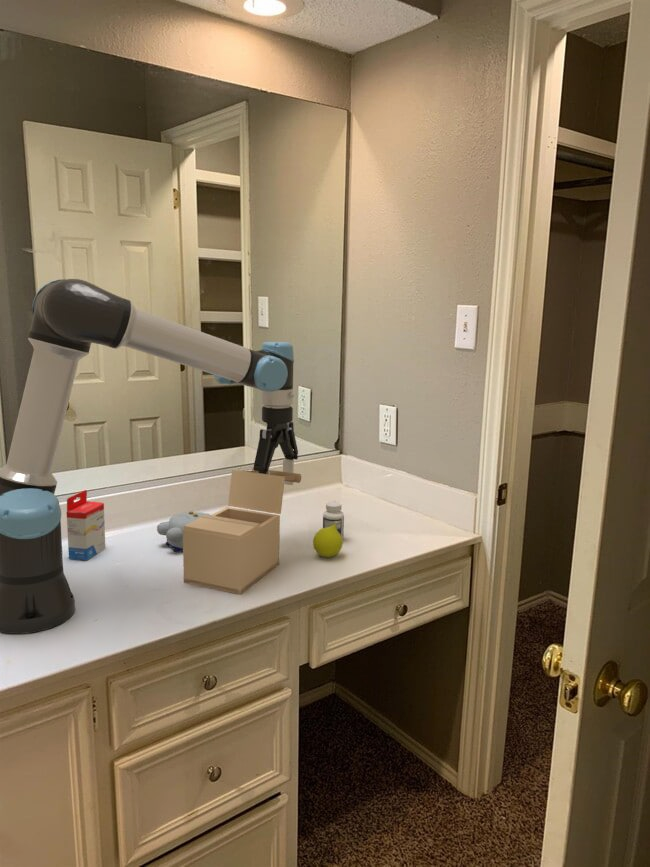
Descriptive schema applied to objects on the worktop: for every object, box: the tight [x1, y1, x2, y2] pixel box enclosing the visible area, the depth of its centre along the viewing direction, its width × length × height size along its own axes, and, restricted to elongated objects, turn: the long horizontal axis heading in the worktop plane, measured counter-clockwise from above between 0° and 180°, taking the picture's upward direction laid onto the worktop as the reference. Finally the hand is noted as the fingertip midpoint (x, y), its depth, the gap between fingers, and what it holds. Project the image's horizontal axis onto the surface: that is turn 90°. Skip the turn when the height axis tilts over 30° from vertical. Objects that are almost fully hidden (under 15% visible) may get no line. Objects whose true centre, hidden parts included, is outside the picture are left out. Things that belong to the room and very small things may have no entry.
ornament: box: [312, 521, 343, 558], centre depth 158 cm, size 7×7×10 cm
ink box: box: [66, 489, 106, 561], centre depth 155 cm, size 8×5×15 cm, turn 168°
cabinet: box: [182, 506, 281, 595], centre depth 146 cm, size 18×14×13 cm
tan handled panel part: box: [227, 468, 302, 515], centre depth 158 cm, size 9×14×11 cm
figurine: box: [156, 510, 211, 552], centre depth 165 cm, size 17×8×20 cm
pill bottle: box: [322, 501, 345, 542], centre depth 169 cm, size 5×5×10 cm
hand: (276, 490), depth 164 cm, fingers open, 12 cm apart
